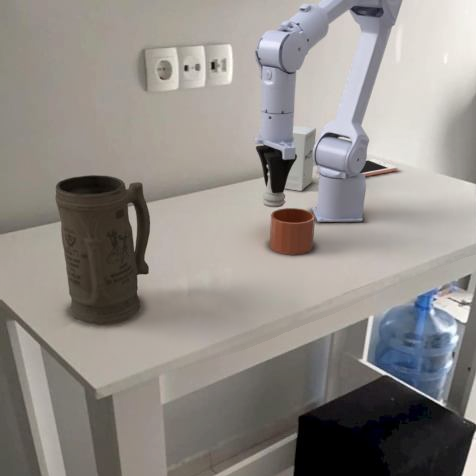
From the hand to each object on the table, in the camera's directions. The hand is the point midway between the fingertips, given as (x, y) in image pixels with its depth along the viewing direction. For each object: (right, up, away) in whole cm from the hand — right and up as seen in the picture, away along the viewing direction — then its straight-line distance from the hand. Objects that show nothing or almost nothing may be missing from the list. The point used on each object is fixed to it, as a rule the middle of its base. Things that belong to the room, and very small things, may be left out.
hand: (274, 189), depth 118 cm
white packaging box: (+6, +12, +33) cm, 36 cm away
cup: (+3, -10, +3) cm, 11 cm away
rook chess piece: (0, -2, +2) cm, 3 cm away
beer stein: (-26, -24, -16) cm, 39 cm away
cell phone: (+24, +18, +42) cm, 52 cm away
